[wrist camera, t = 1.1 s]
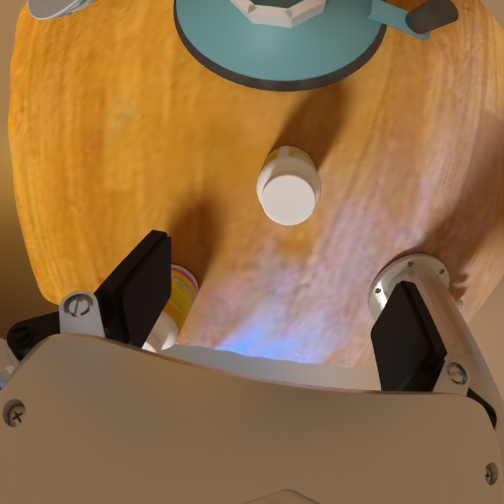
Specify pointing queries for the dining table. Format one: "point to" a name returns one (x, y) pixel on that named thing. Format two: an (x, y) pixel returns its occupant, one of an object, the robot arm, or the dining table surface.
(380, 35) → the turntable base
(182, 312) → the supplement bottle
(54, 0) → the chinaware
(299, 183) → the supplement bottle
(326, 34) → the turntable
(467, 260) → the dining table surface
